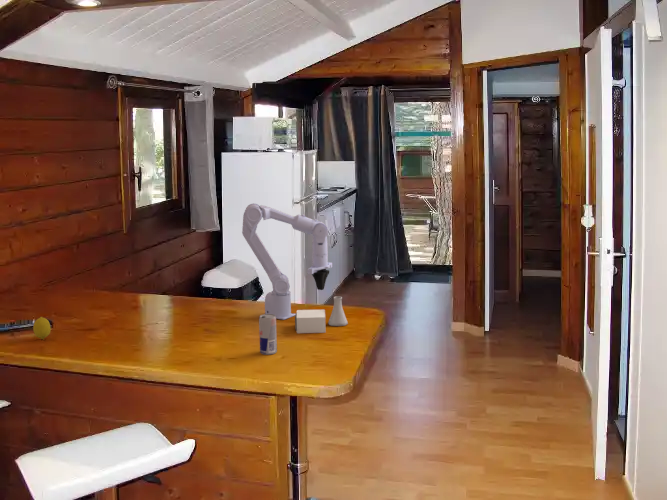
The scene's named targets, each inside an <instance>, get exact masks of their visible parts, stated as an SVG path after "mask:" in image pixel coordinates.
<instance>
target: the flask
mask: <svg viewBox="0 0 667 500" xmlns="http://www.w3.org/2000/svg"><path fill="white" fill-rule="evenodd" d="M342 300H343V297H342V296H338V295H337V296H333V308H332V309H331V310H332V311H331V314H330V317H329V319H328V323H327V324H328V325H329V326H331V327H342V326H347V325H348V324H349V323H348V320H347V317H346V314H345V311H344V309H343V303H342Z"/></svg>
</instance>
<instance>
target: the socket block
mask: <svg viewBox="0 0 667 500" xmlns="http://www.w3.org/2000/svg"><path fill="white" fill-rule="evenodd" d="M295 314H296V315H295V316H296V317H295V316H294V319H295V318H296V330H295V332H296V334H319V333H322V334H324V333H326V332H327V331H326V330H327V329H326V310H325V309H297V310H296V312H295Z"/></svg>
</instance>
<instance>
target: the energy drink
mask: <svg viewBox="0 0 667 500" xmlns="http://www.w3.org/2000/svg"><path fill="white" fill-rule="evenodd" d="M258 329H259V332H258V334H259V352H260V354H261V355H267V356H271V355H274V354H276V353H277V352H278V349H277V348H278V346H277V345H278V343H277V337H278V336H277V319H276V317H275V315H273V314H265V313H264V314H263V313H262V314H260V315H259V317H258Z"/></svg>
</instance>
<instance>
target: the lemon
mask: <svg viewBox="0 0 667 500" xmlns="http://www.w3.org/2000/svg"><path fill="white" fill-rule="evenodd" d="M32 328H33V329H32V330H33V333H34V335H35V337H36V338H39V339H41V340H42V339H43V340H45V339H46V338H47V337H48V336H49V335H50V334H51V324H50V322H49V320H48V319H47V318H45V317H43V316H40V317H39V318H37V319H36V320H35V321H34V322H33V327H32ZM44 338H45V339H44Z"/></svg>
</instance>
